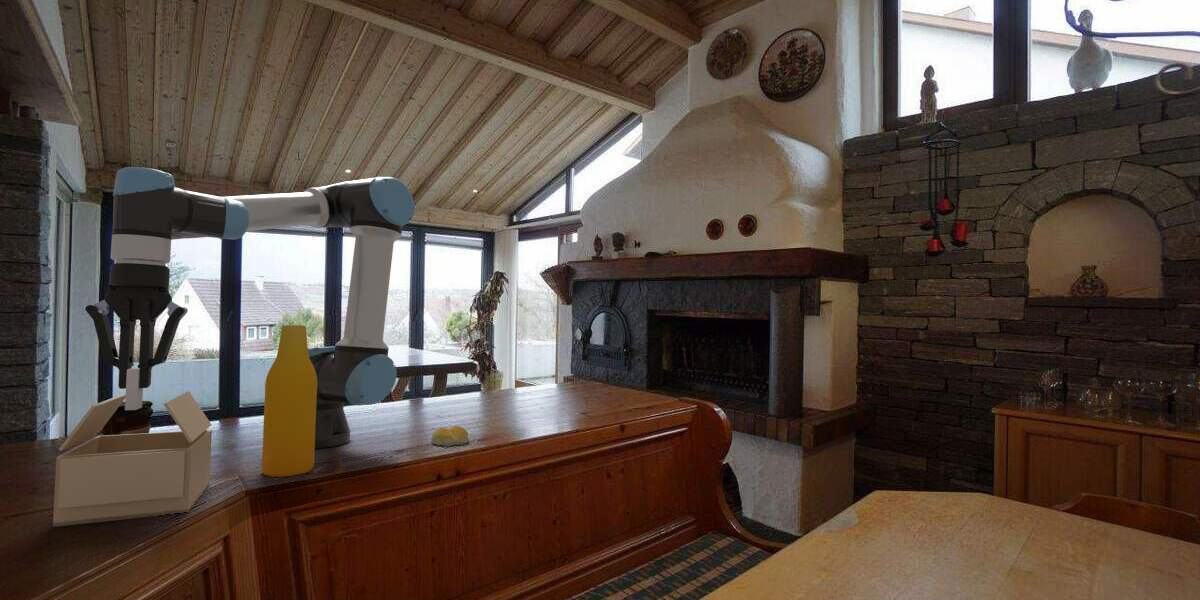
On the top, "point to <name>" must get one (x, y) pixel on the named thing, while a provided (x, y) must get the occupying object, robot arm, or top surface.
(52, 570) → the top surface
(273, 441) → the beer bottle
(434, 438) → the bread roll
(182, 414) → the flap
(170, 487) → the carton
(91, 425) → the flap
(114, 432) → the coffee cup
